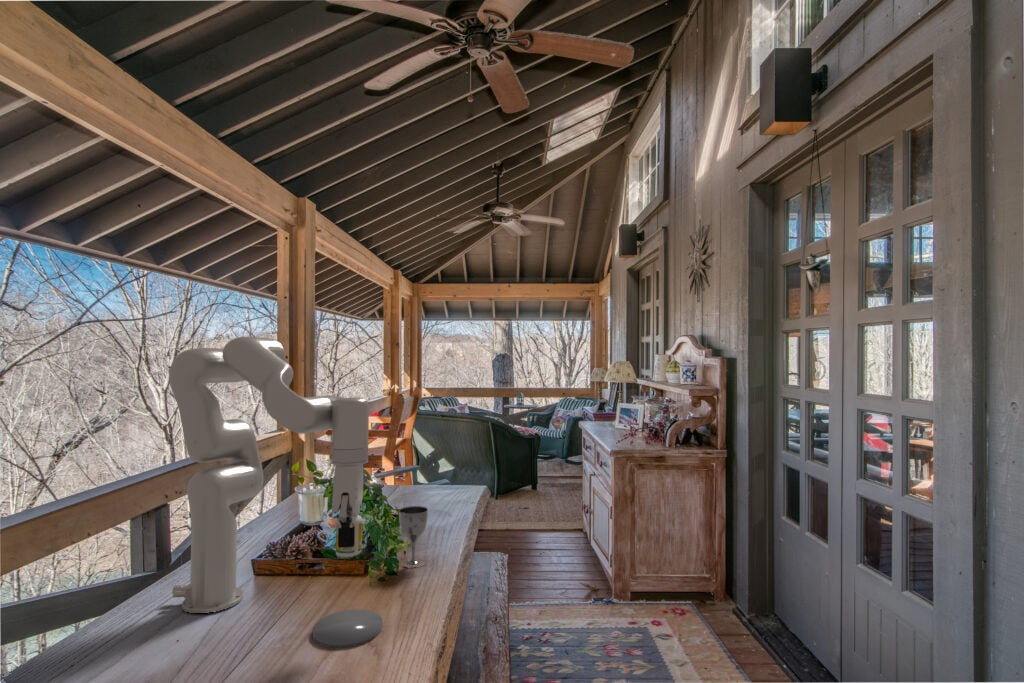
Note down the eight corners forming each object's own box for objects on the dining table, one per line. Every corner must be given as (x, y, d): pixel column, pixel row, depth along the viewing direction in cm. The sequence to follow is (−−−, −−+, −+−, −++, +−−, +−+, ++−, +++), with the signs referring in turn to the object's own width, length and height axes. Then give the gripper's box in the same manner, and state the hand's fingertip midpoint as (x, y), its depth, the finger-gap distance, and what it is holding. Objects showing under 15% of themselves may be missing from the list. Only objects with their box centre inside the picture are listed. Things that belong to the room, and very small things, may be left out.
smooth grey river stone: (305, 649, 107) (305, 643, 107) (321, 616, 121) (321, 611, 121) (377, 645, 109) (377, 639, 109) (385, 613, 123) (386, 607, 123)
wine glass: (421, 570, 148) (421, 514, 149) (394, 567, 150) (394, 512, 150) (431, 559, 156) (431, 506, 156) (405, 557, 158) (405, 505, 158)
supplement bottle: (344, 559, 112) (345, 511, 112) (330, 553, 115) (331, 507, 116) (367, 552, 116) (367, 506, 116) (352, 546, 119) (353, 502, 120)
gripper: (340, 449, 124) (339, 530, 124) (322, 463, 107) (321, 556, 107) (373, 449, 125) (372, 529, 124) (361, 462, 108) (360, 555, 107)
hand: (349, 540), depth 116 cm, fingers closed on supplement bottle, 5 cm apart
